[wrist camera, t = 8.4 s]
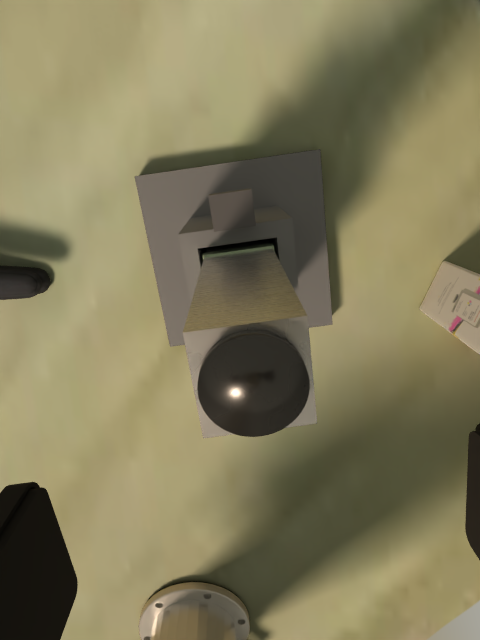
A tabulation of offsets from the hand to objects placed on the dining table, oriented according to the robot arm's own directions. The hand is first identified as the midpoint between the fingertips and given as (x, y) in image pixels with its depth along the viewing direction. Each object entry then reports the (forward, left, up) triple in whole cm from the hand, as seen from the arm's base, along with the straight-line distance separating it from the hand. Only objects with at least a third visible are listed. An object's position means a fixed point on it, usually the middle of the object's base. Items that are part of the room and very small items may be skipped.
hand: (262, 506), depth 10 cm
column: (0, 0, -21) cm, 21 cm away
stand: (0, 0, -28) cm, 28 cm away
